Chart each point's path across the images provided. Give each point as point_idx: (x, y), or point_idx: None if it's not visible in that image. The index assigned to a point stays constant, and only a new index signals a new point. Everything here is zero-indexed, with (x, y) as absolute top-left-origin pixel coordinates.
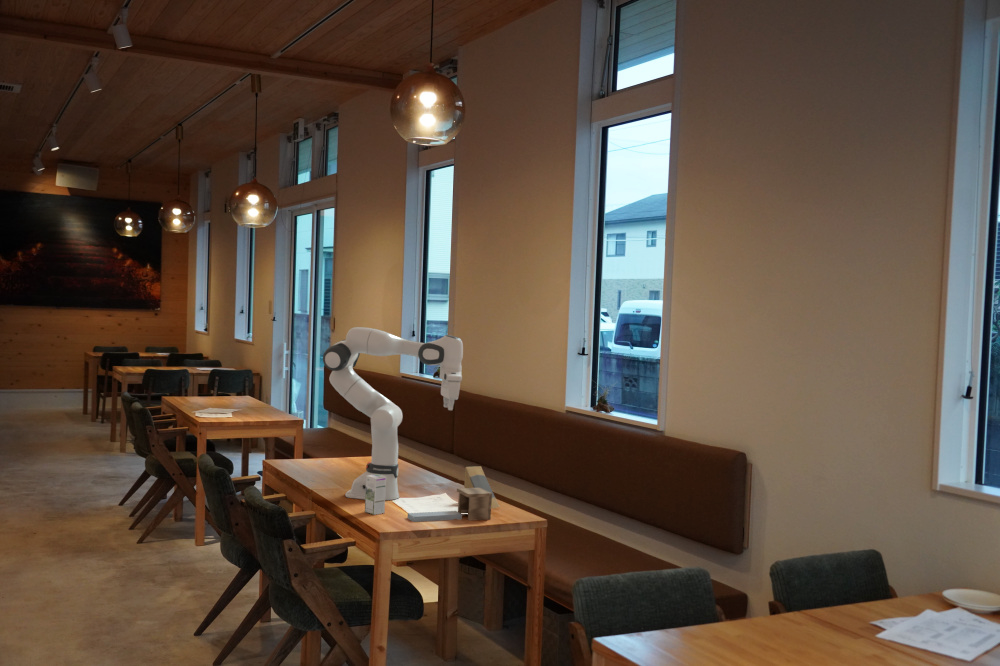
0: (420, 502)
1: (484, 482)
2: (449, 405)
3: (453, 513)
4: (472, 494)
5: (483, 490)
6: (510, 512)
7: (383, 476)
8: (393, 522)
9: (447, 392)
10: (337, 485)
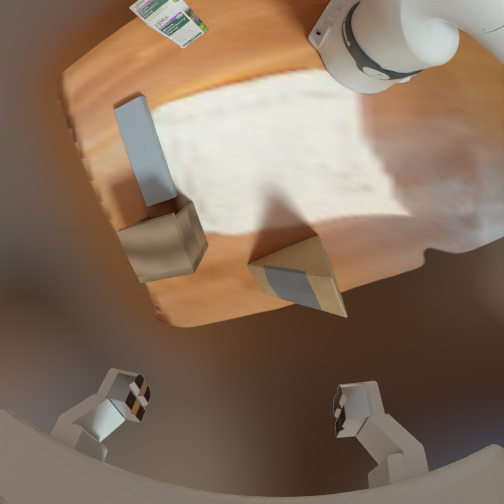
0: (307, 132)
1: (302, 298)
2: (94, 399)
3: (150, 190)
4: (121, 241)
5: (163, 273)
6: (222, 301)
7: (144, 19)
8: (113, 76)
9: (38, 491)
10: None
